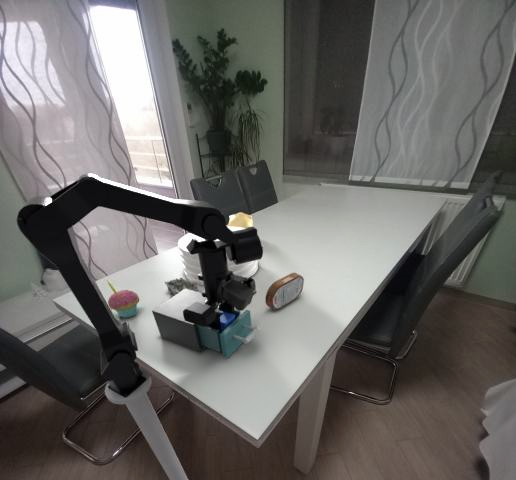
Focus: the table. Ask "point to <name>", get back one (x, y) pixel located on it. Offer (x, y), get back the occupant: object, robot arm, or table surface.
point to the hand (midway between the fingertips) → (224, 327)
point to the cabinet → (179, 319)
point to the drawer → (228, 334)
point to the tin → (284, 290)
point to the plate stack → (193, 264)
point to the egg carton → (180, 285)
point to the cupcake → (123, 302)
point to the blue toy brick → (226, 320)
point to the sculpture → (240, 220)
